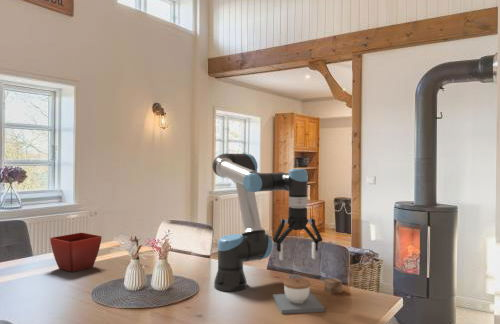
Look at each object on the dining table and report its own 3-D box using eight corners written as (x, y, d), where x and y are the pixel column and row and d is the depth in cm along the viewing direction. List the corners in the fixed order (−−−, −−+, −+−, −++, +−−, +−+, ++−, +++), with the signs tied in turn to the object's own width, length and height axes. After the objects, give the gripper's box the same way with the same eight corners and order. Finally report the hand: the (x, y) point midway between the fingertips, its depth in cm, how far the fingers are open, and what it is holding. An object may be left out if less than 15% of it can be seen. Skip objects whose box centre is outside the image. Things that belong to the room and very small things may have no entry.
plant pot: (102, 266, 211) (102, 235, 211) (70, 275, 195) (70, 242, 194) (81, 261, 221) (81, 232, 221) (49, 269, 205) (49, 237, 205)
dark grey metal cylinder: (291, 293, 169) (291, 277, 169) (288, 290, 174) (288, 274, 174) (302, 293, 169) (302, 277, 169) (299, 289, 174) (299, 274, 174)
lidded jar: (303, 308, 149) (303, 283, 149) (278, 302, 155) (279, 279, 155) (314, 299, 158) (314, 276, 158) (291, 294, 164) (291, 272, 164)
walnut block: (330, 294, 169) (330, 282, 169) (324, 290, 173) (324, 279, 173) (342, 292, 171) (342, 281, 171) (335, 289, 175) (335, 278, 175)
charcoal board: (281, 313, 147) (281, 309, 147) (272, 297, 164) (272, 294, 164) (324, 311, 149) (324, 307, 149) (311, 296, 166) (311, 292, 166)
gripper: (269, 208, 151) (269, 262, 151) (330, 207, 154) (329, 260, 154) (266, 206, 158) (265, 257, 158) (324, 205, 162) (323, 255, 162)
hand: (297, 258), depth 156 cm, fingers open, 13 cm apart
